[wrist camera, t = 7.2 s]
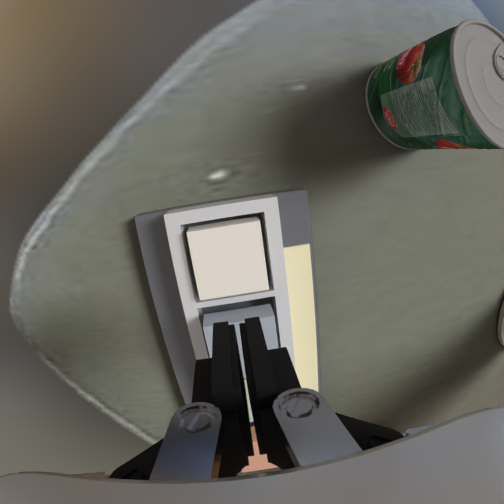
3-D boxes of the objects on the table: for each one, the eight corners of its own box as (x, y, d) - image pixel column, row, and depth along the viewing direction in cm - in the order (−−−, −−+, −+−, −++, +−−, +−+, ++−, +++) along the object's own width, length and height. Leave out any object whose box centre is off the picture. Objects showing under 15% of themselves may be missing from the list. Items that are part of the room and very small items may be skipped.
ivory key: (256, 216, 21) (259, 220, 19) (265, 279, 22) (269, 289, 20) (189, 227, 20) (186, 232, 19) (201, 289, 22) (199, 300, 20)
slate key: (270, 303, 21) (274, 315, 19) (277, 357, 22) (281, 372, 20) (203, 314, 21) (202, 327, 19) (216, 367, 22) (216, 382, 20)
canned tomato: (420, 168, 23) (519, 178, 13) (348, 113, 22) (435, 83, 11) (451, 99, 22) (541, 85, 11) (386, 43, 20) (468, -5, 10)
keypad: (302, 187, 23) (316, 191, 19) (317, 423, 29) (327, 447, 26) (139, 213, 22) (125, 221, 19) (204, 442, 28) (203, 467, 25)
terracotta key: (284, 420, 24) (288, 435, 22) (287, 450, 25) (291, 464, 23) (232, 429, 24) (233, 444, 22) (240, 458, 25) (242, 472, 23)
